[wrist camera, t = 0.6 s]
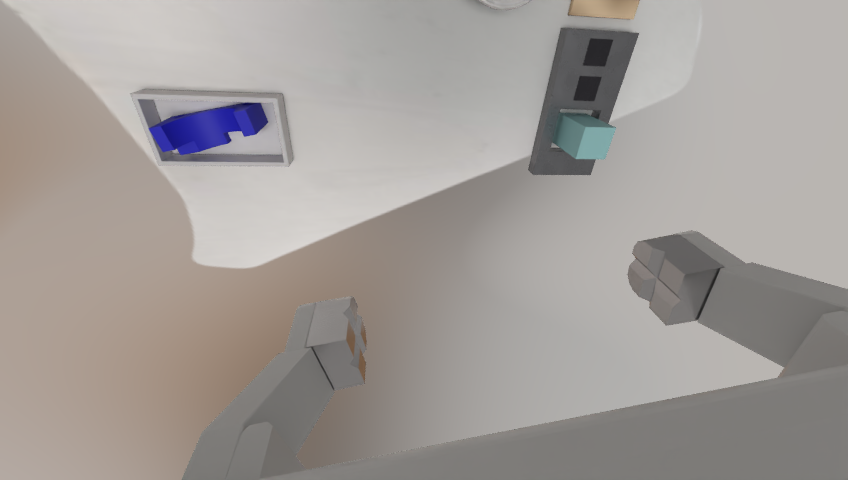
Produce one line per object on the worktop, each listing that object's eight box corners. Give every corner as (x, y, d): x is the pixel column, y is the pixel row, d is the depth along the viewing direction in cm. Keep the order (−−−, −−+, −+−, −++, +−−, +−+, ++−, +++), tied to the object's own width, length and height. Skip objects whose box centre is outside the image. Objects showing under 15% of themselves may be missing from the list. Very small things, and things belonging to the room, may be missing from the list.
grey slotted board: (561, 28, 45) (568, 28, 43) (629, 32, 46) (639, 33, 45) (528, 169, 56) (532, 174, 54) (584, 170, 57) (590, 175, 56)
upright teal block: (558, 112, 51) (585, 126, 45) (585, 113, 52) (616, 127, 45) (551, 141, 54) (575, 158, 47) (577, 141, 54) (604, 159, 48)
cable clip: (190, 148, 49) (169, 163, 44) (172, 116, 46) (148, 128, 41) (272, 132, 49) (260, 145, 44) (259, 99, 46) (245, 110, 41)
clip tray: (144, 89, 44) (130, 93, 41) (282, 93, 46) (276, 98, 43) (169, 157, 49) (158, 165, 46) (293, 159, 51) (288, 166, 48)
